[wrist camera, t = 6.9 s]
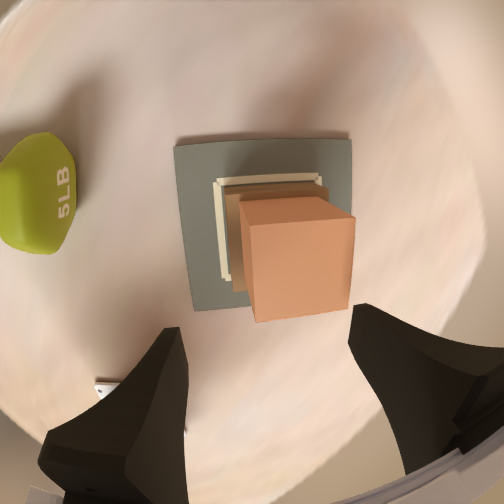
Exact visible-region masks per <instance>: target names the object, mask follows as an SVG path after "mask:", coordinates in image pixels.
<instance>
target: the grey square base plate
mask: <svg viewBox="0 0 504 504" xmlns="http://www.w3.org/2000/svg"><path fill="white" fill-rule="evenodd" d="M173 149H174V161H175V172H176V182H177V192H178V201H179V210H180V218H181V226H182V234H183V241H184V248H185V255H186V262H187V269H188V275H189V282H190V288H191V294H192V300H193V306H194V311H206V310H217V309H227V308H237V307H246V306H252V305H251V301H250V297H249V293H248V291H241V292H233V286H232V280H231V273H230V262H229V251H228V239H227V227H226V215H225V202H224V189H223V187H235V186H248V185H263V184H280V183H302V182H313V183H316V184H318V185H321V186H323V187H326V188H328V189H329V203H330V204H332V205H334V206H336V207H338V208H339V209H341V210H343V211H345V212H346V213H348V214H350V215H351V191H352V144H351V140H347V139H258V140H239V141H224V142H212V143H201V144H192V145H183V146H174V147H173Z"/></svg>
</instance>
